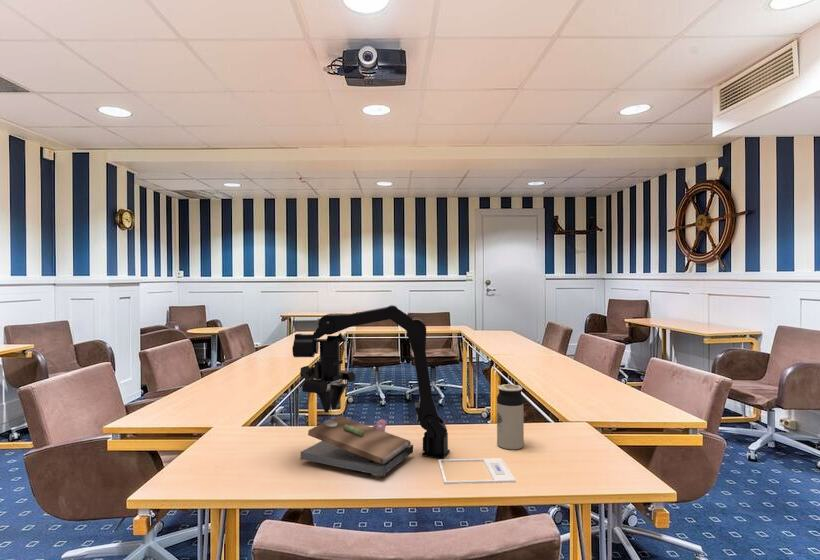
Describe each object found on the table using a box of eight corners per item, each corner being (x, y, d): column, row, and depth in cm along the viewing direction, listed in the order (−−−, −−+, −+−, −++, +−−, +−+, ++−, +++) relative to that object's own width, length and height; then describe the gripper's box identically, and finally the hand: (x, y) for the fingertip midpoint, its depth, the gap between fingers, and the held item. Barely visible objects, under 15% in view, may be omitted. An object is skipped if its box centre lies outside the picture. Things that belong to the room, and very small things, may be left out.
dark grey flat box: (413, 457, 132) (413, 444, 132) (382, 481, 116) (382, 467, 116) (338, 443, 143) (337, 432, 143) (300, 464, 127) (300, 451, 127)
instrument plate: (410, 446, 131) (412, 435, 131) (384, 465, 117) (386, 452, 117) (338, 420, 141) (340, 410, 141) (307, 435, 128) (309, 423, 128)
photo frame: (515, 479, 115) (444, 481, 114) (515, 484, 115) (444, 485, 114) (501, 457, 130) (438, 459, 129) (501, 461, 130) (438, 462, 129)
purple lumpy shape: (378, 448, 143) (388, 428, 143) (365, 442, 144) (375, 422, 144) (380, 438, 153) (390, 419, 153) (368, 431, 153) (378, 413, 153)
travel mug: (521, 441, 145) (521, 384, 145) (525, 450, 137) (525, 390, 137) (496, 440, 145) (495, 383, 145) (498, 449, 137) (497, 389, 138)
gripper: (326, 351, 146) (326, 400, 146) (286, 360, 129) (286, 415, 129) (356, 353, 141) (356, 404, 141) (318, 362, 124) (318, 420, 124)
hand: (329, 410), depth 134 cm, fingers open, 3 cm apart
